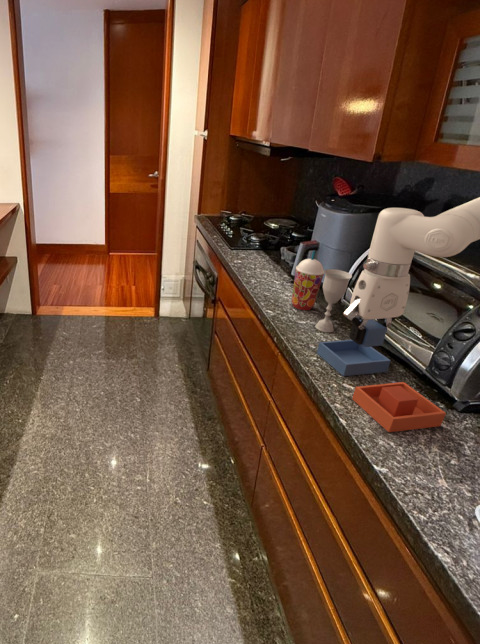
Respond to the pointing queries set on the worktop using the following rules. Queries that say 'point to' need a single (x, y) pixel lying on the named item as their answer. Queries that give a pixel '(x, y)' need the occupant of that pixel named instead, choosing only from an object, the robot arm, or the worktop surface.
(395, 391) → the terracotta block
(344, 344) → the blue bin
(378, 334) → the blue cubic block piece
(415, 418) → the terracotta bin
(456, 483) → the worktop surface
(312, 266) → the smoothie
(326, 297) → the chalice
